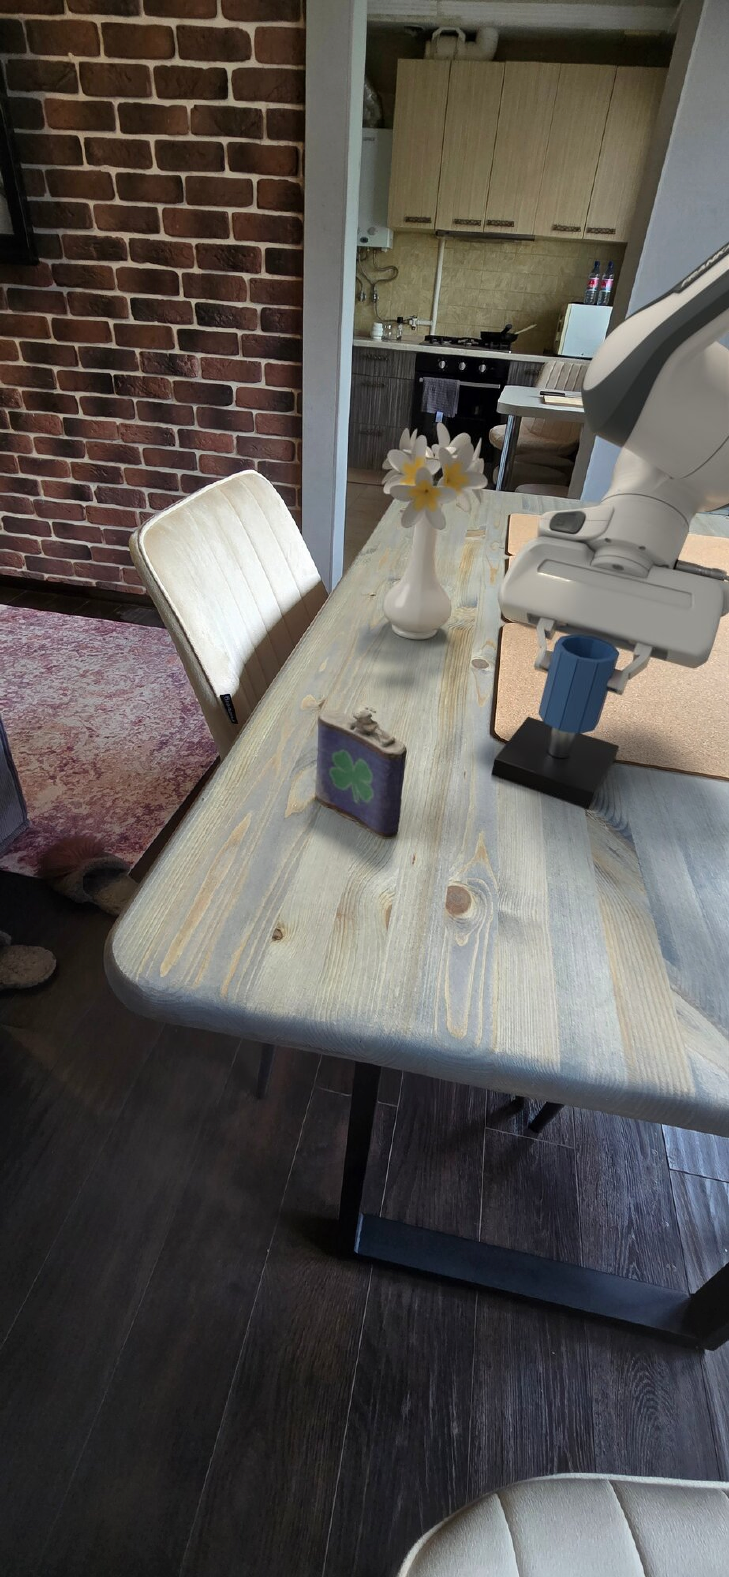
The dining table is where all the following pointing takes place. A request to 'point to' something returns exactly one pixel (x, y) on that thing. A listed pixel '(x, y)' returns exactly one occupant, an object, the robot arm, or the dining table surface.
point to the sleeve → (577, 683)
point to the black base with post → (556, 762)
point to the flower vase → (427, 523)
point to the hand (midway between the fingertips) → (576, 680)
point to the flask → (360, 771)
